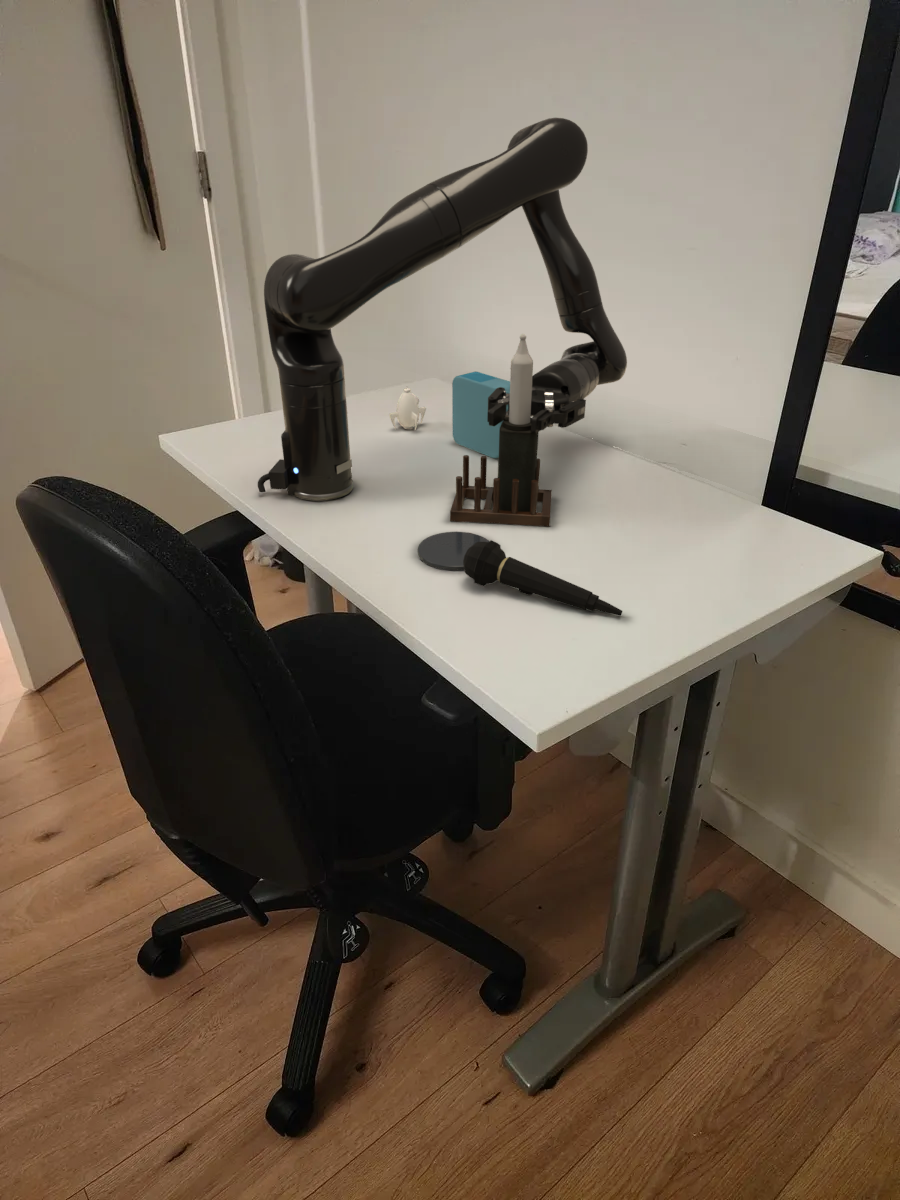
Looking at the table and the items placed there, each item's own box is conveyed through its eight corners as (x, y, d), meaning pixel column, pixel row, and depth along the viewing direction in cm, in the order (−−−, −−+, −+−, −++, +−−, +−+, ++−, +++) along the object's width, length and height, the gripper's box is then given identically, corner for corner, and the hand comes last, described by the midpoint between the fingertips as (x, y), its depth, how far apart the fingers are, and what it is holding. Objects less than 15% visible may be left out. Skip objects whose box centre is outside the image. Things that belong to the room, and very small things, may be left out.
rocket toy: (426, 424, 149) (425, 382, 145) (418, 433, 145) (417, 390, 141) (398, 422, 150) (397, 379, 146) (389, 431, 146) (388, 388, 142)
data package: (518, 454, 136) (521, 384, 129) (499, 461, 133) (501, 389, 127) (470, 436, 143) (471, 369, 137) (451, 442, 141) (451, 374, 135)
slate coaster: (411, 568, 101) (411, 564, 101) (424, 533, 110) (424, 529, 110) (490, 573, 100) (490, 568, 100) (496, 537, 109) (497, 533, 108)
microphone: (619, 631, 94) (469, 574, 101) (634, 585, 92) (480, 531, 99) (607, 641, 89) (451, 581, 96) (624, 594, 88) (463, 536, 94)
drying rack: (450, 521, 113) (450, 478, 110) (458, 494, 121) (458, 454, 118) (549, 526, 112) (552, 483, 108) (551, 499, 120) (554, 458, 116)
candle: (531, 519, 114) (540, 339, 101) (495, 516, 114) (500, 337, 101) (535, 504, 118) (544, 330, 105) (501, 502, 119) (506, 328, 106)
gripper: (514, 358, 121) (464, 387, 108) (606, 370, 115) (564, 402, 102) (512, 407, 125) (464, 440, 112) (601, 421, 119) (560, 458, 106)
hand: (512, 422), depth 107 cm, fingers closed on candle, 5 cm apart
